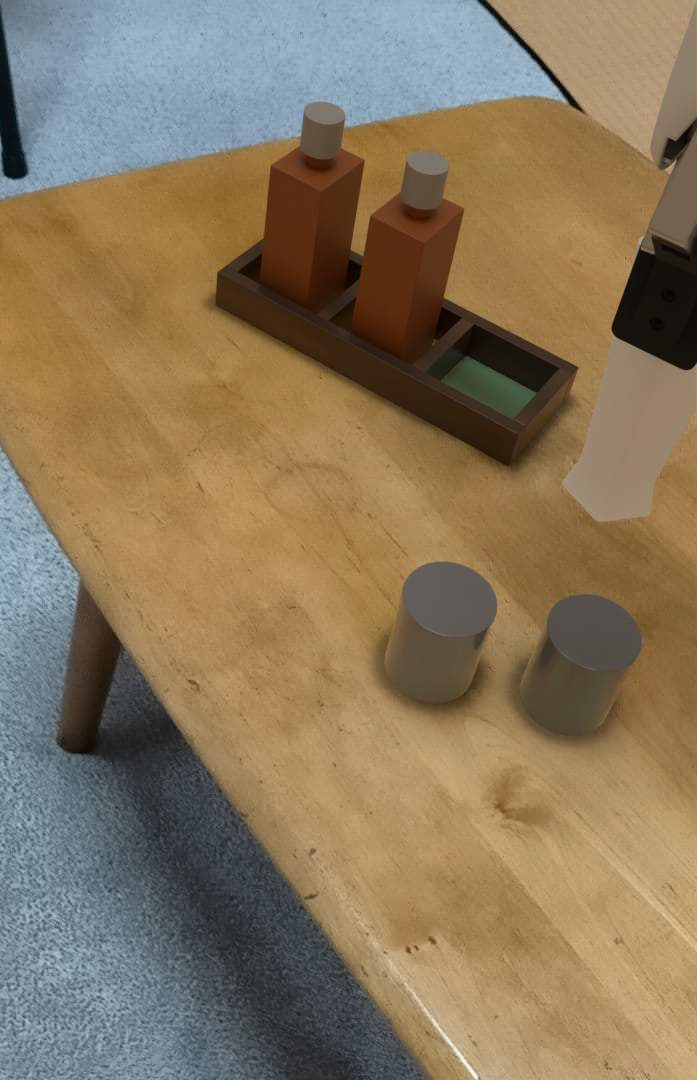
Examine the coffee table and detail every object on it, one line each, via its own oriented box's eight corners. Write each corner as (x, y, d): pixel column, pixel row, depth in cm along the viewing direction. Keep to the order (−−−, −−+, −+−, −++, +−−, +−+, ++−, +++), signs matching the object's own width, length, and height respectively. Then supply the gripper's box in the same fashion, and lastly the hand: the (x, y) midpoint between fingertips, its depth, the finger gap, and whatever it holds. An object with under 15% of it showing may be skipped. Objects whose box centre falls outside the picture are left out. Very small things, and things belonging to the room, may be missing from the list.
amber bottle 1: (342, 301, 89) (373, 110, 78) (302, 334, 86) (328, 140, 75) (297, 277, 90) (321, 85, 79) (256, 309, 87) (275, 114, 76)
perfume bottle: (542, 508, 51) (651, 198, 40) (568, 441, 54) (677, 133, 42) (650, 546, 50) (792, 242, 39) (670, 476, 53) (809, 173, 42)
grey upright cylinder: (486, 670, 70) (514, 593, 65) (441, 729, 67) (467, 653, 62) (411, 624, 71) (433, 546, 66) (364, 681, 68) (383, 603, 63)
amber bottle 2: (432, 348, 87) (476, 159, 75) (394, 384, 84) (435, 192, 72) (384, 323, 88) (421, 133, 77) (345, 357, 85) (378, 165, 74)
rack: (285, 261, 92) (290, 218, 89) (564, 408, 85) (579, 367, 83) (214, 315, 87) (216, 271, 84) (505, 476, 80) (518, 434, 77)
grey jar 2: (618, 700, 70) (657, 626, 64) (579, 761, 67) (617, 688, 61) (541, 654, 71) (573, 578, 66) (499, 712, 68) (530, 636, 63)
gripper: (979, -115, 25) (687, 494, 39) (1122, -280, 35) (850, 250, 49) (646, -228, 27) (480, 388, 41) (871, -353, 37) (678, 174, 51)
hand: (683, 308), depth 45 cm, fingers closed on perfume bottle, 4 cm apart
